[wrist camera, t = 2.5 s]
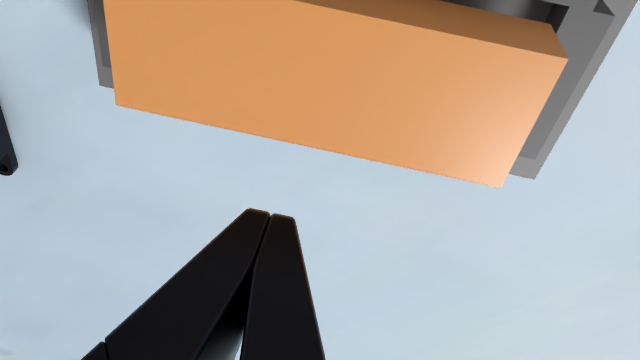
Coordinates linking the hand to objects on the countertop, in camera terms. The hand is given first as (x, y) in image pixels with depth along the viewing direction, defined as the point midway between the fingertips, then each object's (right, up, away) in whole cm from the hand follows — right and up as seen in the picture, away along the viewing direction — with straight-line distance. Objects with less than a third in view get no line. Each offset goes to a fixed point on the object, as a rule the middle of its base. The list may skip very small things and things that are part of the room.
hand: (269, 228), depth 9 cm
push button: (+1, +5, +5) cm, 7 cm away
